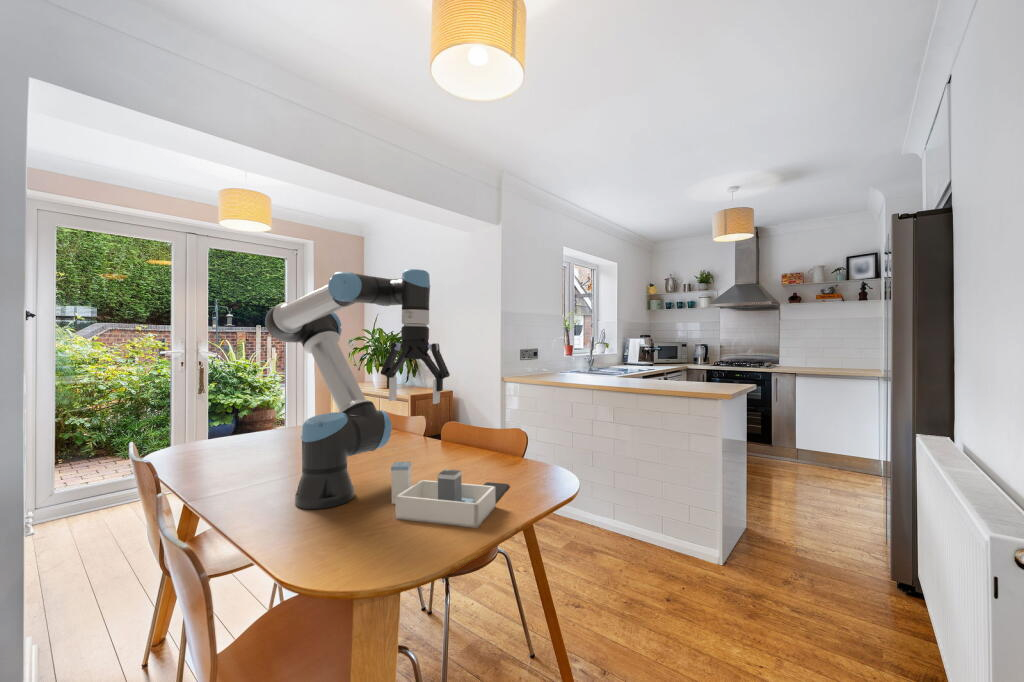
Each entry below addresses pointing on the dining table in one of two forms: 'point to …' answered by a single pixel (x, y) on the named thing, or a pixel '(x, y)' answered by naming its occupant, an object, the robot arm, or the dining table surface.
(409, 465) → the cream plug
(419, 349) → the robot arm
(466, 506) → the tray box
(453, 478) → the grey plug
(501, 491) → the smartphone
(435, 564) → the dining table surface
